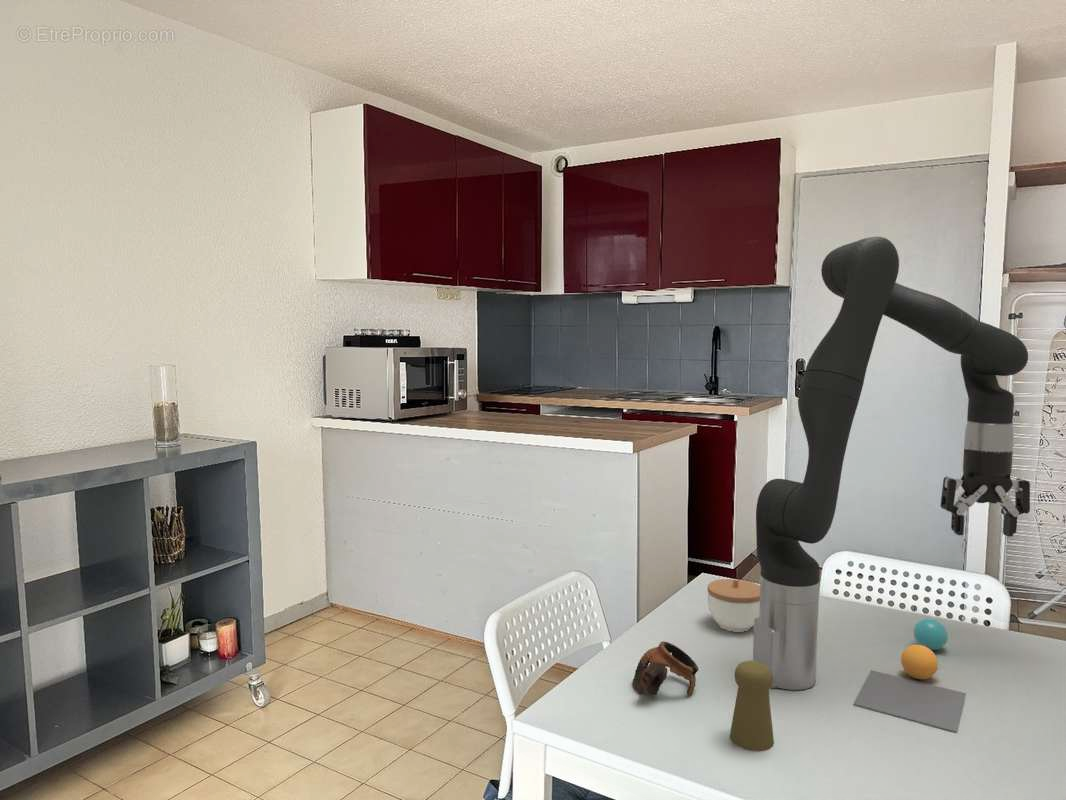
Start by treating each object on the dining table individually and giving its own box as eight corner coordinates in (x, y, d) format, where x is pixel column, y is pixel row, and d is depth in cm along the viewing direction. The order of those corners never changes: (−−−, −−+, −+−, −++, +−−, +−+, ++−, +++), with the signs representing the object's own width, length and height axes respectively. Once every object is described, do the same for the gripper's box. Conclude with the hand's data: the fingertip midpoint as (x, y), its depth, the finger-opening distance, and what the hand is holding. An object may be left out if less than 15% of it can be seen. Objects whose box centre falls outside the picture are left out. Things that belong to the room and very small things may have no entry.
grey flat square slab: (956, 733, 107) (956, 731, 107) (853, 704, 115) (853, 703, 115) (965, 694, 118) (965, 693, 118) (871, 671, 126) (871, 670, 126)
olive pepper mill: (765, 756, 101) (767, 679, 100) (722, 741, 105) (725, 666, 104) (780, 737, 106) (782, 663, 105) (739, 723, 109) (741, 651, 108)
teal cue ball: (927, 656, 132) (929, 626, 132) (906, 643, 138) (907, 615, 137) (954, 653, 133) (955, 624, 133) (931, 641, 139) (933, 612, 138)
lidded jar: (770, 637, 140) (771, 589, 139) (713, 637, 140) (714, 589, 140) (754, 615, 151) (755, 571, 150) (701, 615, 151) (702, 570, 150)
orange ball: (915, 686, 121) (917, 654, 120) (892, 671, 126) (894, 640, 126) (945, 683, 122) (946, 651, 121) (920, 668, 127) (922, 637, 127)
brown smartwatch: (638, 673, 127) (664, 633, 126) (684, 711, 122) (711, 670, 121) (613, 684, 116) (641, 640, 115) (662, 726, 112) (691, 681, 111)
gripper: (1018, 444, 136) (1013, 530, 138) (937, 443, 138) (932, 528, 139) (1042, 450, 129) (1036, 542, 130) (956, 449, 130) (951, 539, 132)
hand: (982, 534), depth 135 cm, fingers open, 8 cm apart
